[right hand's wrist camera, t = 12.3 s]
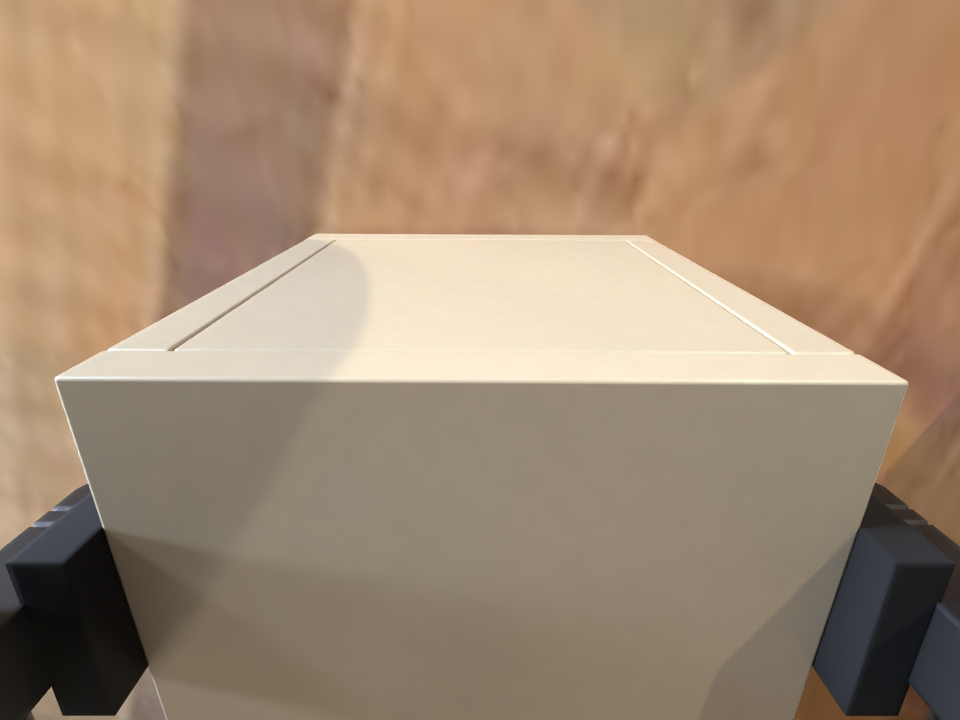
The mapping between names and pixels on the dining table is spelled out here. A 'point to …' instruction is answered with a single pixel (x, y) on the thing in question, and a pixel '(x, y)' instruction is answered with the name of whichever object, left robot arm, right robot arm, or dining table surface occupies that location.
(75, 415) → the cabinet
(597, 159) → the dining table surface
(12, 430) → the dining table surface
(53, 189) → the dining table surface
